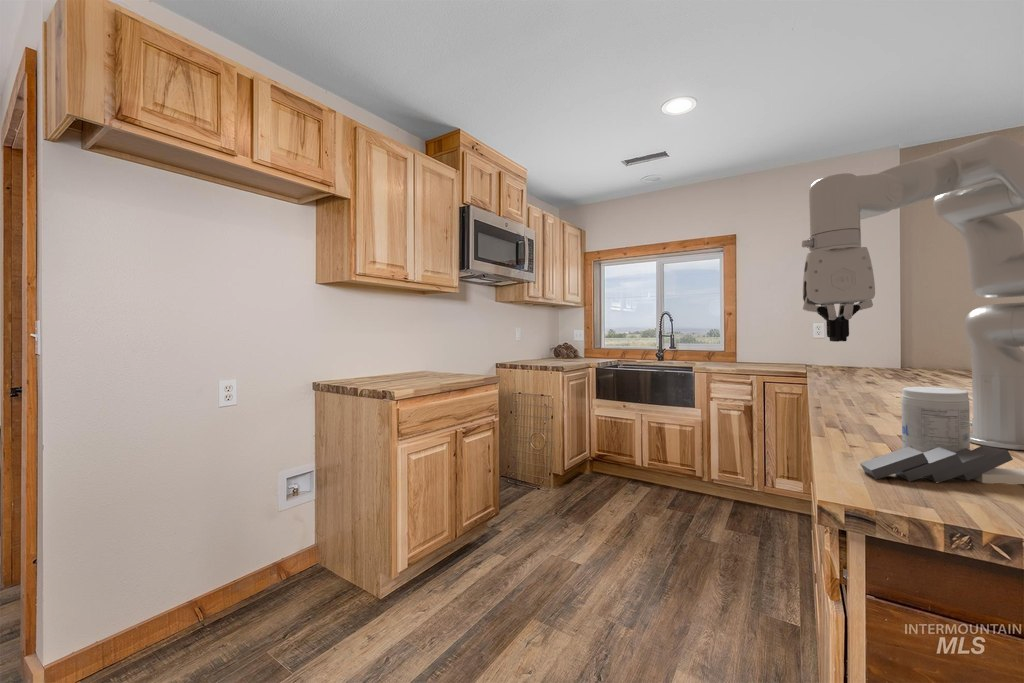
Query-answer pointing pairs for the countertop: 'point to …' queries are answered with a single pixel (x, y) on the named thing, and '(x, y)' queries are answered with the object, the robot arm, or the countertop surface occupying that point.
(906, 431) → the supplement tub
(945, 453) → the domino
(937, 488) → the countertop surface
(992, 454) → the domino
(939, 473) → the domino
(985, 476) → the domino
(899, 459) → the domino
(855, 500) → the countertop surface
